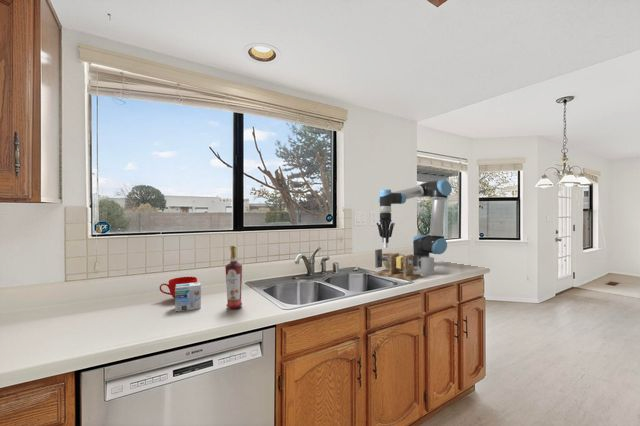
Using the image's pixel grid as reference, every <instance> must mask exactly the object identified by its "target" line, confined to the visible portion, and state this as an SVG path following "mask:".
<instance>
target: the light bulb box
mask: <svg viewBox="0 0 640 426" xmlns="http://www.w3.org/2000/svg"><path fill="white" fill-rule="evenodd" d="M201 284H202V283H201V282H200V281H197V282H196V283H186V284H176V287H175V299H174V311H175V313H176V311H178V312H183V311H185V310H186V311H192V310H193V311H194V310H201V308H202V303H201V302H202V287H201Z"/></svg>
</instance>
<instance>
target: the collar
mask: <svg viewBox="0 0 640 426" xmlns="http://www.w3.org/2000/svg"><path fill="white" fill-rule="evenodd" d="M402 259H403V256H399V257H396V268H400V270H401V269H403V263H402Z"/></svg>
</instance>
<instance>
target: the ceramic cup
mask: <svg viewBox="0 0 640 426" xmlns="http://www.w3.org/2000/svg"><path fill="white" fill-rule="evenodd" d="M196 282H198V278H197V277H196V276H181V277H175V278H171V279H169V280H168V283H161V284H160V285H159V291H160V292H161V293H162V294H166V295H171V296H172V298H173V299H174V300H175V287H176V284H186V283H196ZM162 286H165V287H166V286H167V288H168V289H169V292H166V291H164V290H162V289H163V288H162Z"/></svg>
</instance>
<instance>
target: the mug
mask: <svg viewBox="0 0 640 426" xmlns="http://www.w3.org/2000/svg"><path fill="white" fill-rule="evenodd" d="M419 261H421V267H420V266H419ZM416 267H417V268H418V269H420V274H421V275H422V276H435V258H434V257H433V256H430V257H421V259H418V261H417V266H416Z"/></svg>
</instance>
